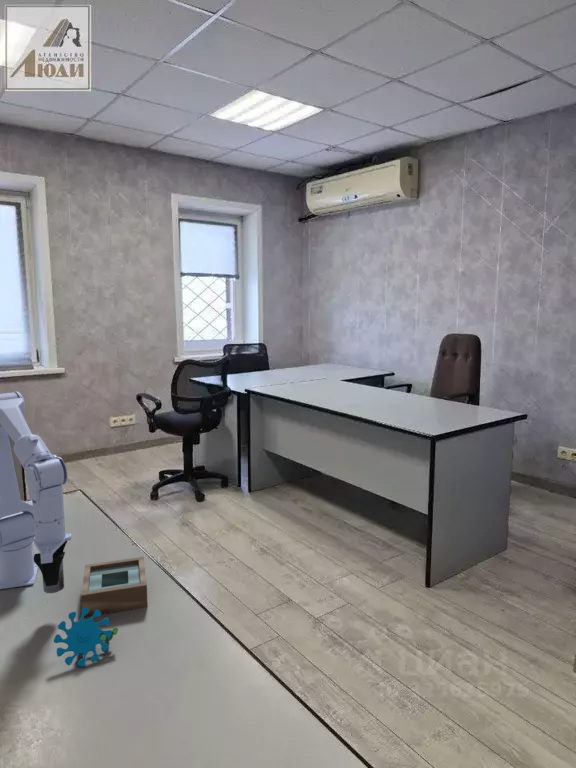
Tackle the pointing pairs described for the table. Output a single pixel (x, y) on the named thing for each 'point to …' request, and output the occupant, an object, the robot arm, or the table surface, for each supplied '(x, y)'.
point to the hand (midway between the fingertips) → (53, 579)
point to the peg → (59, 586)
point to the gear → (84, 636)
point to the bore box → (114, 586)
